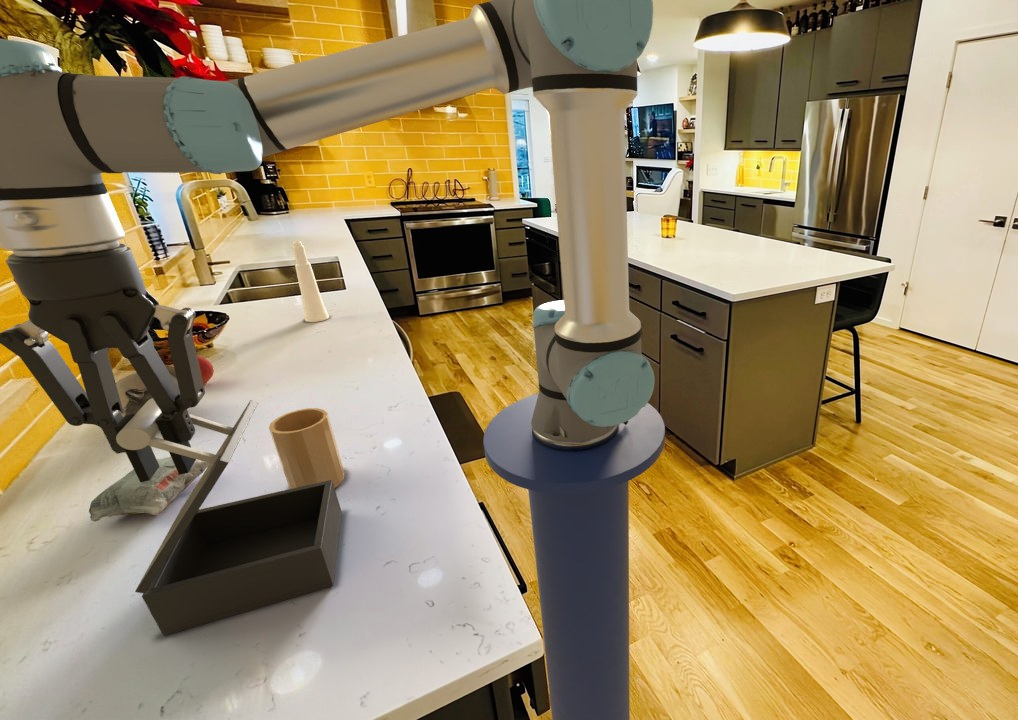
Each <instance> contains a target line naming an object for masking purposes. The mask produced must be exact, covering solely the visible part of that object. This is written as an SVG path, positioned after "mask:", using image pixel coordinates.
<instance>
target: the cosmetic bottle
mask: <svg viewBox="0 0 1018 720" xmlns="http://www.w3.org/2000/svg"><path fill="white" fill-rule="evenodd" d="M291 245H292V247H291V249H292V253H293V256H294V260H295V264H294V267H295V272H296V277H297V281H298V282H297V283H298V287H299V291H300V296H301V300H302V305H303V313H304V321H305V322H307V323H317V322H323V321H326V320H327V319H329V318H330V315H329V314H328V311H327V309H326V306H325V304H324V301H323V298H322V296H321V293H320V289H319V286H318V283H317V280H316V277H315V274H314V273H315V272H314V270H313V268H312V265H311V263H310V262H309V261H308V257H307V253H306V250H305V249H306V248H305V246H304V244H303V242H302V241H292V242H291Z"/></svg>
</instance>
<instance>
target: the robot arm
mask: <svg viewBox="0 0 1018 720" xmlns="http://www.w3.org/2000/svg"><path fill="white" fill-rule="evenodd" d="M653 25H654V1H653V0H489V1H485V2H481V3H478V4H474V5H473V6H472V8H471V11H470V14H469V15H468V17H467V18H463V19H459V20H455V21H451V22H448V23H444V24H440V25H436V26H432V27H429V28H424V29H421V30H417V31H413V32H410V33H406V34H402V35H398V36H395V37H391V38H387V39H383V40H380V41H379V40H378V41H376V42H371V43H368V44H364V45H360V46H357V47H352V48H349V49H345V50H342V51H338V52H334V53H329V54H326V55H322V56H318V57H315V58H310V59H307V60H303V61H300V62H295V63H293V64H288V65H283V66H280V67H277V68H273V69H272V68H271V69H268V70H265V71H260V72H258V73H253V74H250V75H245V76H243V77H240V78H234V79H230V80H225V81H223V80H214V79H213V80H211V79H203V78H196V77H192V76H179V77H161V76H160V77H157V76H129V75H128V76H127V75H126V76H125V75H123V76H122V75H94V74H93V75H90V74H89V75H88V74H82V73H73V72H68V71H67V72H66V71H62V68H61V67H60V66H59V65H58V64H57V62H56V60H55V58H54V56H53V55H52V54H51V52H50V51H49V50H47V49H46V48H44V47H42V46H40V45H37V44H34V43H30V42H26V41H20V40H14V39H6V38H0V248H1V249H3V250H5V251H12V254H9V255H8V256H7V259H6V260H5V263H6V265H7V267H8V269H9V270H10V273H11V275H12V277H13V279H14V280H15V283H16V284H17V286H18V289H19V290H20V292H21V294H22V296H23V297H25V299H26V300H27V301H28V303H29V310H28V314H27V316H28V320H26V321H24V322H23V323H18V324H16V325H13V326H10V327H9V328H7V329H5V330H3V331H1V332H0V344H1V345H2V346H3V347H5V348H6V349H7V350H9V351H10V352H12V353H13V354H15V355H16V356H17V357H19V358H20V360H21V361H22V362H23V364H24V365H25V367H26V368H27V369H28V370H29V372H30V373H31V374H32V376H33V377H34V379H35V380H36V381H37V383H38V384H39V386H40V387H41V388H42V389H43V391H44V392H45V394H46V395H47V396H48V398H49V399H50V401H51V402H52V403H53V405H54V406H55V407H56V409H57V410H58V411H59V413H60V414H61V416H62V417H63V418H64V420H65V421H66V422H67V424H69V425H71V426H73V427H79V426H82V425H93V426H97V427H99V428H100V429H101V430H102V433H103V434H104V436H105V438H106V440H107V443H108V444H109V446H110V449H111V450H112V451H113V452H114V453H116V455H118V454H124V453H125V454H126V456H127V458H128V460H129V462H130V464H131V466H132V468H133V469H134V471H135V473H136V475H137V477H138V479H139V481H140V482H145V481H150V479H151V478H152V477H153V475H154V474H155V472H156V471H157V469H158V468H159V467H160V466H159V464H158V461H157V459H158V458H157V457H156V455H155V452H154V451H153V449H152V448H153V447H151V446H146V447H145V448H142V449H139V450H128V449H125V448H123V447H121V446H120V445H119V444H118V443H117V441H116V436H117V434H118V433H119V432H120V431H121V430H122V429H123V427H124V426H125V425H126V424H127V423H128V422H129V421H130V420H131V419H132V418H133V417H134V415H135V414H136V413H135V414H129V415H125V416H124V417H123V416H122V414H123V413H124V412H125V411H126V408H127V407H125V408H124V409H123V407H122V404H121V400H120V397H119V393H118V389H117V386H116V382H117V381H116V380H115V375H114V371H113V368H112V364H111V361H110V358H109V357H110V356H109V350H110V349H117V350H118V351H119V353H120V355H121V356H122V357H123V358H124V359H126V360H128V361H129V363H130V364H131V366H132V367H133V370H134V371H135V373H136V372H137V374H138V375H139V377H140V379H141V380H142V382H143V383H144V385H145V387H146V388H147V390H148V391H149V393H150V394H151V396H152V398H153V399H154V401H155V402H156V404H157V405H158V407H159V409H160V410H161V412H162V413H161V415H160V416H159V417H158V418H157V419H156V421H155V422H156V424H157V426H158V428H159V432H160V435H161V437H162V439H163V440H166V441H170V442H173V443H177V444H180V445H184V446H187V447H191V448H192V446H191V444H190V442H191V440H192V439H193V438H194V436H195V433H196V427H195V425H194V424H193V423H192V420H191V418H190V415H189V414H190V413H189V411H188V410H189V409H190V408H191V409H192V408H195V407H197V406H198V404H199V403H200V402H201V401H202V399H203V397H204V396H205V394H206V390H205V386H204V385H203V380H202V376H201V371H200V367H199V362H198V357H197V356H198V353H197V349H196V345H195V344H196V343H195V340H194V339H195V338H194V335H193V327H194V323H195V319H196V315H197V313H196V311H195V310H194V309H193V308H191V307H183V308H181V309H179V308H174V307H172V306H171V307H170V306H166V305H162V304H160V302H159V300H158V299H157V298H155V297H154V296H153V295H152V294H151V293H150V292H149V291H148V290H147V288H146V285H145V282H144V279H143V276H142V274H141V271H140V269H139V266H138V264H137V261H136V259H135V257H134V254H133V251H132V249H131V247H129V246H127V245H126V244H124V243H120V241H121V240H123V239H124V238H125V237H126V233H125V231H124V229H123V225H122V223H121V221H120V219H119V217H118V215H117V214H118V213H117V212H116V210H115V207H114V205H113V203H112V200H111V197H110V195H109V193H108V189H107V187H106V184H105V182H104V180H103V176H102V174H123V173H134V174H135V173H136V174H137V173H139V174H140V173H143V174H144V173H147V174H149V173H150V174H153V173H155V174H156V173H157V174H162V173H163V174H177V173H178V174H181V173H182V174H187V173H188V174H189V173H196V174H197V173H209V174H212V175H221V174H230V173H234V172H251V171H252V172H253V171H254V170H257V169H258V168H259V167H260V166H261V164H262V162H263V158H265V157H268V156H272V155H275V154H278V153H282V152H284V151H287V150H290V149H294V148H296V147H301V146H303V145H307V144H310V143H314V142H316V141H320V140H323V139H327V138H330V137H334V136H336V135H341V134H343V133H346V132H350V131H353V130H357V129H360V128H365V127H367V126H371V125H375V124H376V123H380V122H383V121H388V120H390V119H394V118H397V117H401V116H403V115H407V114H410V113H413V112H417V111H421V110H425V109H427V108H431V107H434V106H438V105H441V104H445V103H447V102H450V101H454V100H457V99H461V98H464V97H468V96H471V95H475V94H477V93H482V92H485V91H489V90H491V89H494V90H496V91H498V92H500V93H501V94H503V95H506V94H511V93H514V92H517V91H520V90H525V89H530V88H532V97H533V98H534V99H535V100H536V101H537V102H538V103H539V104H540V105H541V106H542V107H543V108H544V109H545V110H546V113H547V114H548V124H549V134H550V135H549V136H550V148H551V160H552V172H553V183H554V185H553V186H554V197H555V210H556V220H557V221H556V222H557V231H558V232H557V233H558V235H557V236H558V246H559V257H560V259H559V260H560V269H561V270H560V272H561V283H562V295H563V299H561V300H554V301H548V302H546V303H543V304H540V305H538V306H537V307H536V308H535V309H534V310H533V313H532V314H533V315H532V317H533V318H532V319H533V322H532V323H533V324H532V329H533V335H534V346H535V358H536V370H537V381H538V393H539V394H538V393H537V394H538V398H537V402H536V405H535V409H534V413H533V416H532V420H531V427H532V435H533V437H534V439H535V440H536V441H537V442H538V443H539V444H541V445H543V446H545V447H547V448H550V449H553V450H558V451H566V452H575V451H584V450H589V449H593V448H596V447H599V446H601V445H604V444H606V443H607V442H609V441H610V440H612V439H613V438H614V437H615V435H616V434H617V432H618V430H619V424H621V423H623V424H625V425H626V424H627V423H628V420H629V419H631V418H633V417H634V416H636V415H637V414H638V411H639V410H640V409H641V408H643V407H645V406H646V404H647V403H648V404H649V401H650V400H651V397H652V396H653V394H654V393H653V392H654V389H655V383H656V382H655V381H656V380H655V373H654V370H653V368H652V366H651V363H650V361H649V360H648V359H647V358H646V357H645V356H644V355H643V354H642V323H641V320H640V319H639V318H638V317H637V316H636V315H635V314H634V313H633V312H632V311H631V310H630V288H629V285H630V284H629V249H628V248H629V247H628V246H629V245H628V243H629V242H628V216H627V215H628V211H627V210H628V205H627V169H626V168H627V165H626V164H627V163H626V130H625V129H626V126H625V125H626V123H625V115H626V114H625V113H626V110H627V108H629V106H630V105H631V104H632V103H633V102H634V100H635V99H636V98H637V96H638V59H639V58H640V56H642V54H643V52H644V50H645V48H646V47H647V45H648V43H649V40H650V37H651V34H652V31H653ZM155 318H156V319H157V320H158V321H159V323H160V327H161V328H162V329H163V330H164V331H167V343H168V348H169V353H170V356H171V357H170V358H171V360H172V365H173V367H174V369H175V373H176V378H177V382H178V386H179V388H178V387H177V385H176V383H175V382H174V380H173V378H172V377H171V375H170V373H169V372H168V370H167V368H166V367H165V365H166V364H165V362H164V361H163V360H162V358H161V357H160V355H159V353H158V351H157V350H156V348H155V346H154V345H155V343H154V340H153V338H152V336H151V335H150V333H149V330H150V328H151V326H152V325H153V322H154V320H155ZM49 334H50V335H51V336H52V337H55V338H57V339H58V340H60V341H61V342H64V343H65V344H67V345H68V348H69V352H70V356H71V358H72V361H73V362H74V363H75V364H77V367H78V370H79V373H80V376H81V380H82V383H83V385H82V384H81V383H80V381H79V380H78V379H77V377H76V375H75V374H74V373H73V371H72V370H71V368H70V367H69V365H68V363H66V361H65V360H64V358H63V357H62V355H61V354H60V352H59V351H58V350H57V348H56V347H55V346H54V344H53V343H52V342H51V341H50V340H49ZM168 453H169V456H170V457H171V458H172V460H173V462H174V464H175V467H176V469H177V471H178V473H179V475H180V474H185V473H188V472H189V471H190V469H191V467H192V466H193V464H194V462H195V461H196V460H197V459H194V458H190V457H187V456H183V455H180V454H176V453H172V452H169V451H168Z"/></svg>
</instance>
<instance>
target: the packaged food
mask: <svg viewBox="0 0 1018 720" xmlns="http://www.w3.org/2000/svg"><path fill="white" fill-rule="evenodd" d="M156 459H157V461H158V464H159V466H160V467H159V468H158V469H157V471H156V472H155V474H154V475H153V477H152V478H151V479H150V481H145V482H140V481H139V479H138V477H137V475H136V473H135V471H134V468H133V469H132V470H130V471H129V472H127V474H125V475H124V476H123V477H122V478H119V479H118V480H117V481H115V482H114V483H112V484H110V485H109V486H108V487H107V488H105V489H104V490H103V491H102V492H101V493H99V494H98V495H97V496H96V497H95V498H94V499H92V501H90V505H89V508H88V513H89V515H90V516H89V518H90V521H91V522H95V523H96V522H99V521H100V520H101V519H102V518H106V517H108V518H111V517H116V516H122V515H133V514H134V515H135V514H149V515H153V516H158V515H159V514H161V513H162V512H163V510H165V509H166V508H167V507H168V506H169V505H170V503H172V501H173V500H175V498H176V497H177V496H178V494H180V493H182V492H184V490H186V489H187V488H188V486H189V485H191V483H193V482H194V481H195V480H196V479H197V478H199V477H200V476H202V475H203V474H204V472H205V471H206V469H207V468H208V466H209V464H210V463H208V462H205V461H201V460H197V459H196V461H195V462H194V464H193V466H192V467H191V469H190V471H189V472H188V473H185V474H180V475H179V473H178V471H177V469H176V467H175V464H174V462H173V460H172V458H171V456H168V457H167V456H166V457H163V458H156Z"/></svg>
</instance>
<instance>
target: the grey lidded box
mask: <svg viewBox="0 0 1018 720" xmlns="http://www.w3.org/2000/svg"><path fill="white" fill-rule="evenodd" d="M342 519H343V511H342V507H341V504H340V501H339V499H338V495H337V491H336V488H334V484H333V481H332V480H328V481H324V482H319V483H315V484H311V485H306V486H302V487H297V488H293V489H290V488H289V489H285V490H280V491H276V492H270V493H266V494H262V495H258V496H253V497H248V498H244V499H239V500H236V501H232V502H231V501H230V502H227V503H221V504H217V505H213V506H208V507H205V508H199V510H198V511H197V513H196V514H195V516H194V518H193V519H192V521H191V522H190V524H189V525H188V527H187V528H186V530H185V532H184V533H183V535H182V536H181V538H180V539H179V541H178V542H177V544H176V546H175V547H174V549H173V550H172V552H171V553H170V555H169V556H168V558H167V560H166V561H165V563H164V564H163V566H162V567H161V569H160V571H159V572H158V574H157V575H156V577H155V578H154V580H153V581H152V583H151V585H150V586H149V588H148V589H147V591H146V592H145V593H142V595H141V598H142V599H143V601H144V603H145V605H146V607H147V609H148V611H149V612H150V614H151V616H152V618H153V620H154V621H155V623H156V625H157V628H158V629H159V630H160V632H161V634H162V636H163V637H165V636H169V635H172V634H176V633H178V632H182V631H185V630H188V629H192V628H196V627H199V626H203V625H205V624H209V623H213V622H216V621H219V620H224V619H225V618H229V617H233V616H236V615H239V614H243V613H247V612H250V611H253V610H256V609H259V608H263V607H266V606H270V605H273V604H276V603H279V602H283V601H287V600H290V599H292V598H297V597H300V596H304V595H307V594H311V593H313V592H317V591H321V590H323V589H327V588H330V587H333V586H334V583H335V574H336V567H337V559H338V550H339V542H340V534H341V526H342Z"/></svg>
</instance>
